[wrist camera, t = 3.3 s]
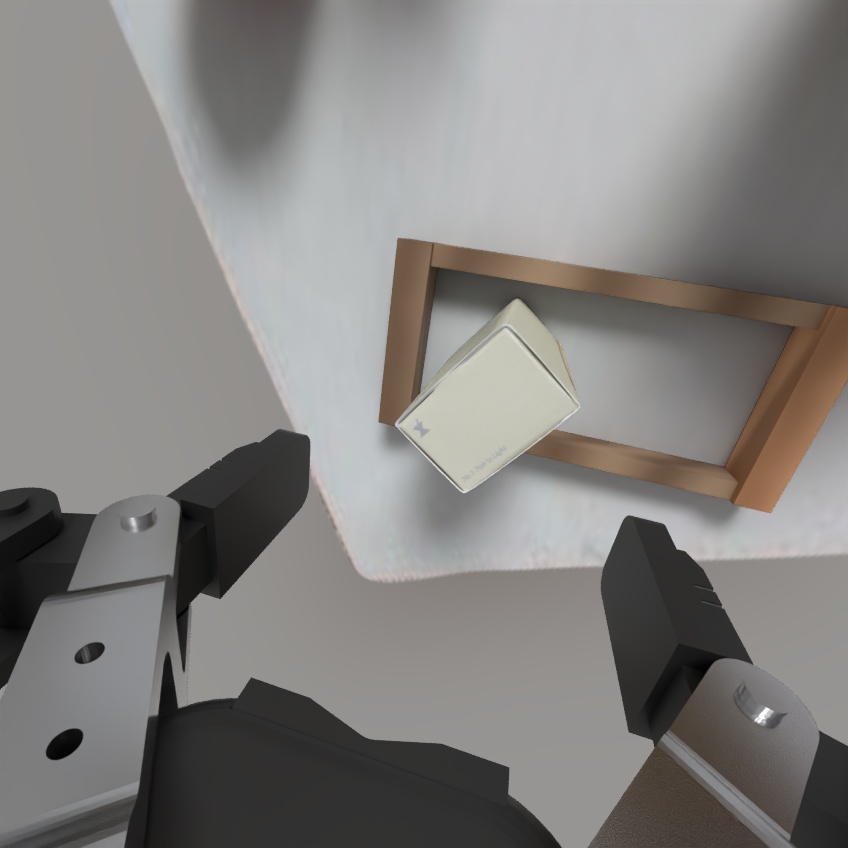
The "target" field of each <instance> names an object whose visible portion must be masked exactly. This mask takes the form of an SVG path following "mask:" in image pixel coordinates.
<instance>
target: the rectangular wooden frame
mask: <svg viewBox="0 0 848 848" xmlns="http://www.w3.org/2000/svg"><path fill="white" fill-rule="evenodd" d="M438 267H440V268H446V269H452V270H458V271H464V272H470V273H476V274H482V275H488V276H494V277H500V278H506V279H512V280H518V281H524V282H530V283H536V284H542V285H548V286H554V287H560V288H566V289H573V290H579V291H585V292H591V293H597V294H603V295H609V296H615V297H621V298H627V299H633V300H639V301H645V302H651V303H657V304H663V305H669V306H675V307H681V308H687V309H693V310H699V311H705V312H711V313H717V314H723V315H729V316H735V317H741V318H747V319H753V320H759V321H766V322H772V323H778V324H784V325H790V326H795V327H794V329H793V331H792V333H791V335H790V337H789V339H788V341H787V343H786V345H785V347H784V349H783V351H782V353H781V355H780V357H779V359H778V361H777V363H776V366H775V368H774V370H773V372H772V374H771V376H770V378H769V380H768V382H767V384H766V386H765V388H764V390H763V392H762V394H761V396H760V398H759V400H758V402H757V404H756V406H755V408H754V410H753V412H752V414H751V416H750V418H749V420H748V422H747V424H746V426H745V428H744V430H743V432H742V434H741V436H740V438H739V440H738V442H737V444H736V446H735V448H734V450H733V452H732V454H731V456H730V458H729V460H728V462H727V464H726V466H725V467H722V466H718V465H713V464H708V463H704V462H699V461H695V460H690V459H686V458H681V457H677V456H672V455H667V454H663V453H658V452H654V451H649V450H645V449H640V448H635V447H631V446H626V445H622V444H617V443H613V442H608V441H604V440H599V439H594V438H590V437H585V436H581V435H576V434H572V433H567V432H563V431H558V430H553V431H551V432H550V433H549V434H548V435H546V436H545V437H544V438H542V439H541V440H540V441H538V442H537V443H536V444H534V445H533V446H532V447H530V448H529V449H528V450H526V451H525V452H524V453H528V454H533V455H537V456H541V457H546V458H550V459H554V460H559V461H563V462H567V463H572V464H576V465H580V466H585V467H589V468H593V469H598V470H602V471H606V472H611V473H615V474H619V475H624V476H628V477H632V478H637V479H641V480H645V481H650V482H654V483H658V484H663V485H667V486H671V487H676V488H680V489H684V490H689V491H693V492H697V493H702V494H706V495H710V496H715V497H719V498H724V499H728V500H730V501H731V502H732V503H733V505H738V506H742V507H746V508H751V509H755V510H759V511H764V512H768V513H771V512H772V510H773V508H774V507H775V505H776V503H777V501H778V500H779V498H780V496H781V495H782V493H783V491H784V489H785V488H786V486H787V484H788V482H789V481H790V479H791V477H792V475H793V474H794V472H795V470H796V469H797V467H798V465H799V463H800V462H801V460H802V458H803V456H804V455H805V453H806V451H807V449H808V448H809V446H810V444H811V443H812V441H813V439H814V437H815V436H816V434H817V432H818V430H819V429H820V427H821V425H822V423H823V422H824V420H825V418H826V417H827V415H828V413H829V411H830V410H831V408H832V406H833V404H834V403H835V401H836V399H837V397H838V396H839V394H840V392H841V391H842V389H843V387H844V385H845V384H846V382H847V380H848V307H841V306H835V305H828V304H822V303H816V302H809V301H803V300H797V299H790V298H784V297H777V296H771V295H765V294H758V293H752V292H745V291H739V290H733V289H726V288H720V287H713V286H707V285H701V284H694V283H688V282H682V281H675V280H669V279H662V278H656V277H650V276H643V275H637V274H630V273H624V272H618V271H611V270H605V269H598V268H592V267H586V266H579V265H573V264H567V263H560V262H554V261H547V260H541V259H535V258H528V257H522V256H515V255H509V254H503V253H496V252H490V251H483V250H477V249H471V248H464V247H458V246H451V245H445V244H439V243H432V242H426V241H420V240H413V239H404V238H398V240H397V249H396V259H395V269H394V278H393V288H392V297H391V307H390V317H389V326H388V336H387V346H386V355H385V365H384V374H383V384H382V394H381V403H380V413H379V422H380V423H384V424H388V425H393V426H395V423H396V421H397V420H398V419H399V418H400V416H401V415H402V414H403V413H404V412H405V410H406V409H407V408H408V407H409V406H410V404H411V403H412V402H413V401H414V400H415V399H416V397H417V396H418V395H419V394H420V388H421V381H422V374H423V367H424V360H425V353H426V346H427V339H428V332H429V325H430V318H431V311H432V304H433V297H434V291H435V284H436V277H437V270H438Z"/></svg>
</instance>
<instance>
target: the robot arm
mask: <svg viewBox="0 0 848 848" xmlns="http://www.w3.org/2000/svg"><path fill="white" fill-rule="evenodd" d="M309 467H310V439H309V437H308V436H307V435H303V434H299V433H295V432H291V431H287V430H283V429H279V430H276V431H275V432H274V433H272V434H271V435H269V436H268V437H267V438H265V439H264V440H262V441H261V442H260V443H258V442H255V443H252V444H249V445H246V446H243V447H240V448H237V449H235V450H234V451H232V452H231V453H229V454H228V455H226V456H225V457H223V458H222V461H220V460H219V461H217V462H216V463H215V464H213V465H212V466H210V469H206V470H204V471H203V472H201V473H200V474H198V475H197V476H195V477H194V478H192V479H191V480H189V481H188V482H187V483H185V484H183V485H182V486H181V487H179V488H178V489H176V490H175V491H173V492H172V493H170V494H169V495H167V496H162V495H140V496H134V497H130V498H127V499H123V500H120V501H118V502H115V503H114V504H111V505H109V506H108V507H106V508H105V509H103V510H102V511H101V512H100V513H99V514H74V513H61V509H60V505H59V501H58V498H57V496H56V494H55V493H54V492H52V491H50V490H47V489H42V488H18V489H11V490H6V491H2V492H0V689H1V688H2V687H3V686H5V685H6V684H7V686H6V688H5V691H4V693H3V695H2V698H1V700H0V848H561V846H560V845H559V843H558V842H557V841H556V840H555V838H554V837H553V836H552V834H551V833H550V832H549V831H548V830H547V829H546V828H545V826H543V824H542V823H541V822H540V821H539V820H538V819H537V818H536V817H535V816H534V815H533V814H532V813H531V812H530V811H528V810H527V809H526V808H525V807H524V806H523V805H522V804H521V803H519V802H518V801H516V800H515V799H514V798H512V797H511V796H510V795H508V785H509V783H508V782H509V767H506V766H503V765H500V764H498V763H495V762H492V761H489V760H486V759H483V758H480V757H477V756H475V755H472V754H469V753H466V752H463V751H460V750H457V749H454V748H452V747H449V746H446V745H443V744H436V743H418V742H401V741H383V740H371V739H368V738H365V737H363V736H362V735H360V734H359V733H357V732H356V731H355V730H353V729H352V728H350V727H349V726H348V725H346V724H345V723H344V722H342V721H341V720H340V719H338V718H337V717H335V716H334V715H333V714H331V713H330V712H329V711H327V710H326V709H324V708H323V707H322V706H320V705H319V704H317V703H316V702H315V701H313V700H312V699H311V698H308V697H305V696H303V695H300V694H297V693H294V692H291V691H288V690H285V689H283V688H279V687H277V686H274V685H271V684H268V683H265V682H263V681H260V680H257V679H253V678H251V679H250V680H249V682H248V683H247V685H246V686H245V688H244V689H243V691H242V692H241V694H240V695H239V697H238V698H226V699H214V700H208V701H203V702H198V703H194V704H191V705H188V671H189V653H190V634H191V633H190V632H191V617H192V609H191V602H192V601H193V600H194V599H195V597H197V595H198V594H199V593H203V594H206V595H209V596H212V597H215V598H219V599H221V598H222V597H223V595H224V594H225V593H226V592H227V591H228V590H229V589H230V588H231V586H232V585H233V584H234V583H235V582H236V581H237V580H238V579H239V577H240V576H241V575H242V574H243V573H244V572H245V571H246V570H247V568H248V567H249V566H250V565H251V564H252V563H253V562H254V561H255V559H256V558H257V557H258V556H259V555H260V554H261V553H262V552H263V550H264V549H265V548H266V547H267V546H268V545H269V544H270V543H271V541H272V540H273V539H274V538H275V537H276V536H277V535H278V534H279V532H280V531H281V530H282V529H283V528H284V527H285V526H286V525H287V523H288V522H289V521H290V520H291V519H292V518H293V517H294V516H295V514H296V513H297V512H298V511H299V510H300V509H301V507H302V505H303V504H304V502H305V500H306V497H307V493H308V489H309ZM601 594H602V599H603V604H604V609H605V614H606V620H607V625H608V630H609V635H610V640H611V644H612V650H613V655H614V660H615V665H616V670H617V675H618V680H619V685H620V690H621V695H622V701H623V705H624V711H625V715H626V720H627V726H628V730H629V732H630V733H633V734H636V735H639V736H642V737H645V738H648V739H651V740H653V743H654V747H655V748H654V750H653V752H652V753H651V754H650V756H649V757H648V759H647V760H646V762H645V763H644V765H643V766H642V768H641V769H640V771H639V772H638V774H637V775H636V777H635V778H634V780H633V781H632V783H631V784H630V786H629V787H628V789H627V790H626V791H625V793H624V794H623V796H622V797H621V799H620V801H619V802H618V803H617V805H616V806H615V808H614V809H613V811H612V812H611V814H610V815H609V817H608V818H607V820H606V821H605V823H604V824H603V826H602V827H601V829H600V830H599V832H598V833H597V835H596V836H595V838H594V839H593V841H592V842H591V843H590V845H589V847H588V848H848V746H847V745H845V744H843V743H841V742H839V741H837V740H835V739H833V738H832V737H830V736H828V735H826V734H824V733H822V732H821V731H819V730H818V727H817V724H816V722H815V720H814V718H813V716H812V714H811V713H810V711H809V710H808V709H807V707H806V706H805V705H804V704H803V703H802V701H801V700H800V699H799V698H798V697H797V696H796V695H795V694H794V693H793V692H792V691H791V690H790V689H789V688H788V687H787V686H785V685H784V684H783V683H782V682H780V681H779V680H778V679H776V678H775V677H774V676H772V675H770V674H769V673H767V672H766V671H764V670H762V669H760V668H758V667H757V666H754V665H753V663H752V661H751V659H750V657H749V655H748V653H747V651H746V649H745V648H744V646H743V644H742V642H741V640H740V638H739V636H738V634H737V632H736V631H735V629H734V627H733V625H732V623H731V621H730V619H729V617H728V616H727V614H726V612H725V610H724V609H722V604H721V602H720V600H719V598H718V596H717V595H716V593H715V592H713V587H712V585H711V584H710V582H709V579H708V578H707V576H706V574H705V572H704V570H703V569H702V568H701V567H700V566H699V565H698V564H697V563H696V562H695V561H694V560H693V559H692V558H691V557H690V556H689V555H688V554H687V553H686V552H685V551H681V550H677V549H676V547H675V545H674V543H673V541H672V539H671V537H670V534H669V532H668V530H667V528H666V526H665V525H664V524H662V523H658V522H654V521H650V520H646V519H642V518H638V517H634V516H627V517H625V519H624V520H623V522H622V524H621V527H620V529H619V531H618V534H617V536H616V539H615V541H614V543H613V546H612V548H611V551H610V553H609V556H608V558H607V560H606V563H605V565H604V568H603V572H602V579H601Z"/></svg>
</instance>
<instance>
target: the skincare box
mask: <svg viewBox="0 0 848 848" xmlns="http://www.w3.org/2000/svg"><path fill="white" fill-rule="evenodd" d="M580 407H581V405H580V402H579V399H578V396H577V393H576V390H575V387H574V384H573V380H572V377H571V374H570V371H569V368H568V365H567V362H566V359H565V356H564V352H563V349H562V346H561V345H560V343H559V342H558V341H557V340H556V339H555V337H554V336H553V335H552V334H551V333H550V331H549V330H548V329H547V328H546V327H545V326H544V325H543V323H542V322H541V321H540V320H539V319H538V318H537V317H536V315H535V314H534V313H533V312H532V311H531V310H530V309H529V308H528V306H527V305H526V304H525V303H524V302H523V301H522V300H521V299H520V298H515V299H514V300H513V301H511V302H510V303H509V304H508V305H507V306H506V307H505V308H503V309H502V310H501V311H500V312H499V313H498V314H497V315H496V316H494V317H493V318H492V319H491V320H490V321H489V322H488V323H487V324H486V325H485V326H483V327H482V328H481V329H480V330H479V331H478V332H477V333H476V334H475V335H474V336H473V337H472V338H470V339H469V340H468V341H467V342H466V343H465V344H464V345H463V346H462V347H461V348H460V349H459V350H458V351H457V352H456V353H455V354H454V355H453V356H452V357H451V358H450V359H449V360H448V361H447V362H446V363H445V365H444V366H443V367H442V368H441V369H440V370H439V372H438V373H437V374H436V375H435V376H434V377H433V379H432V380H431V381H430V382H429V383H428V385H427V386H426V387H425V388H424V389H423V390H422V392H421V393H420V394H419V395H418V396H417V397H416V399H415V400H414V401H413V402H412V403H411V404H410V406H409V407H408V408H407V409H406V410H405V412H404V413H403V414H402V415H401V416H400V418H399V419H398V420H397V421H396V423H395V426H396V427H397V428H398V429H399V430H400V431H401V432H402V433H403V434H404V435H405V437H406V438H407V439H408V440H409V441H410V442H411V443H412V444H413V445H414V446H415V447H416V448H417V449H418V450H419V451H420V452H421V453H422V454H423V455H424V456H425V457H426V458H427V459H428V460H429V461H430V462H431V463H432V464H433V465H434V466H435V467H436V469H437V470H438V471H440V473H442V474H443V475H444V476H445V477H446V478H447V479H448V480H449V481H450V482H451V483H452V484H453V485H454V486H455V487H456V488H457V489H458V490H459V491H460V492H462V493H467V492H469V491H470V490H472V489H473V488H475V487H476V486H478V485H479V484H481V483H482V482H484V481H485V480H487V479H488V478H490V477H491V476H492V475H494V474H495V473H497V472H498V471H499V470H501V469H502V468H503V467H505V466H506V465H508V464H509V463H510V462H512V461H513V460H515V459H516V458H517V457H518V456H520V455H521V454H522V453H524V452H525V451H526V450H528V449H529V448H530V447H532V446H533V445H534V444H536V443H537V442H538V441H540V440H541V439H542V438H544V437H545V436H546V435H548V434H549V433H550V432H551V431H553V430H554V429H555V428H557V427H558V426H559V425H560V424H562V423H563V422H564V421H566V420H567V419H568V418H569V417H571V416H572V415H573V414H574V413H576V412H577V411H578V410H579V409H580Z"/></svg>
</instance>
